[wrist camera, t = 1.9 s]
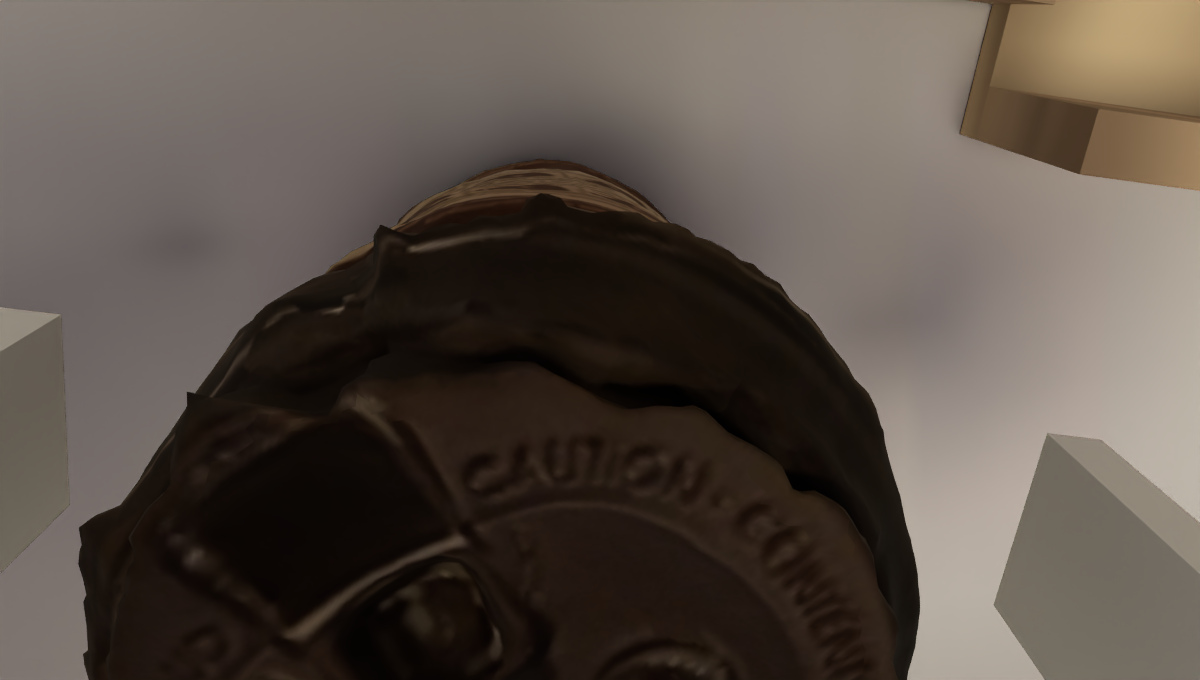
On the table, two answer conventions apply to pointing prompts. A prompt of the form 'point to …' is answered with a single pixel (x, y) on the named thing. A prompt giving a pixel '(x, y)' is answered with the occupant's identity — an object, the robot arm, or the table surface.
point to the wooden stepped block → (1093, 87)
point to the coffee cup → (515, 469)
